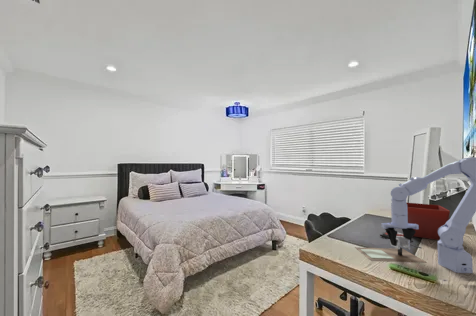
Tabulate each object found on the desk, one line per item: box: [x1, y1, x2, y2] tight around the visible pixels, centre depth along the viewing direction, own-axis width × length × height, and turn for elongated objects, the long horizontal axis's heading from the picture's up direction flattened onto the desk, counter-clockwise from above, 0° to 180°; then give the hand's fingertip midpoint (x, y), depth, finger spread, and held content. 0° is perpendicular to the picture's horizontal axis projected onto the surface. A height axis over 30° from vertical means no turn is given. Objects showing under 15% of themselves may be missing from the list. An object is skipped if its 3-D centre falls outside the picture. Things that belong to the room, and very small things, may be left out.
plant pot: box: [406, 202, 451, 241], centre depth 123 cm, size 19×19×17 cm
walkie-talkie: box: [379, 231, 422, 249], centre depth 111 cm, size 9×4×20 cm
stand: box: [354, 246, 428, 264], centre depth 94 cm, size 14×22×4 cm, turn 86°
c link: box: [389, 236, 411, 250], centre depth 94 cm, size 5×5×4 cm
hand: (400, 245), depth 94 cm, fingers closed on c link, 5 cm apart
